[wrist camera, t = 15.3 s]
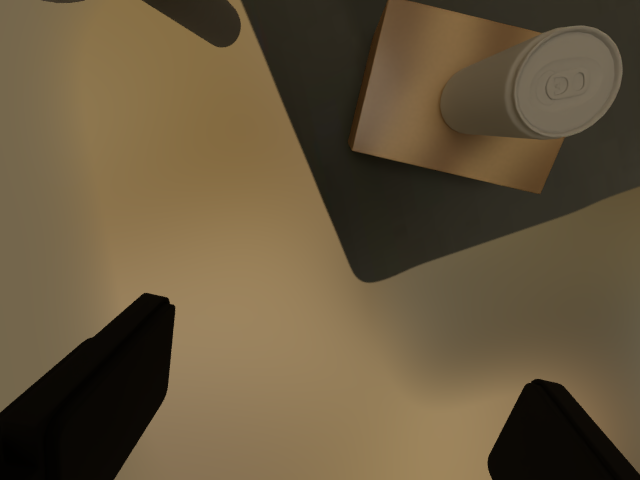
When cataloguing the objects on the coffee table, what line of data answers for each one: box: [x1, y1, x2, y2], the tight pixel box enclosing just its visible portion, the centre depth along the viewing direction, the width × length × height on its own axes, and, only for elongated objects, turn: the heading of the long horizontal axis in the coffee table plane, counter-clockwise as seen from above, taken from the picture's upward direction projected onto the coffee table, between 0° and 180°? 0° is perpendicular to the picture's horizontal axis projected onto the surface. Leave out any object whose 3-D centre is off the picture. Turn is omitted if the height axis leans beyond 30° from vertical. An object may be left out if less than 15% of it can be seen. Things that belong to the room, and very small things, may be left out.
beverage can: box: [440, 25, 623, 140], centre depth 21 cm, size 5×5×12 cm
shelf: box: [348, 0, 565, 194], centre depth 33 cm, size 16×11×12 cm
